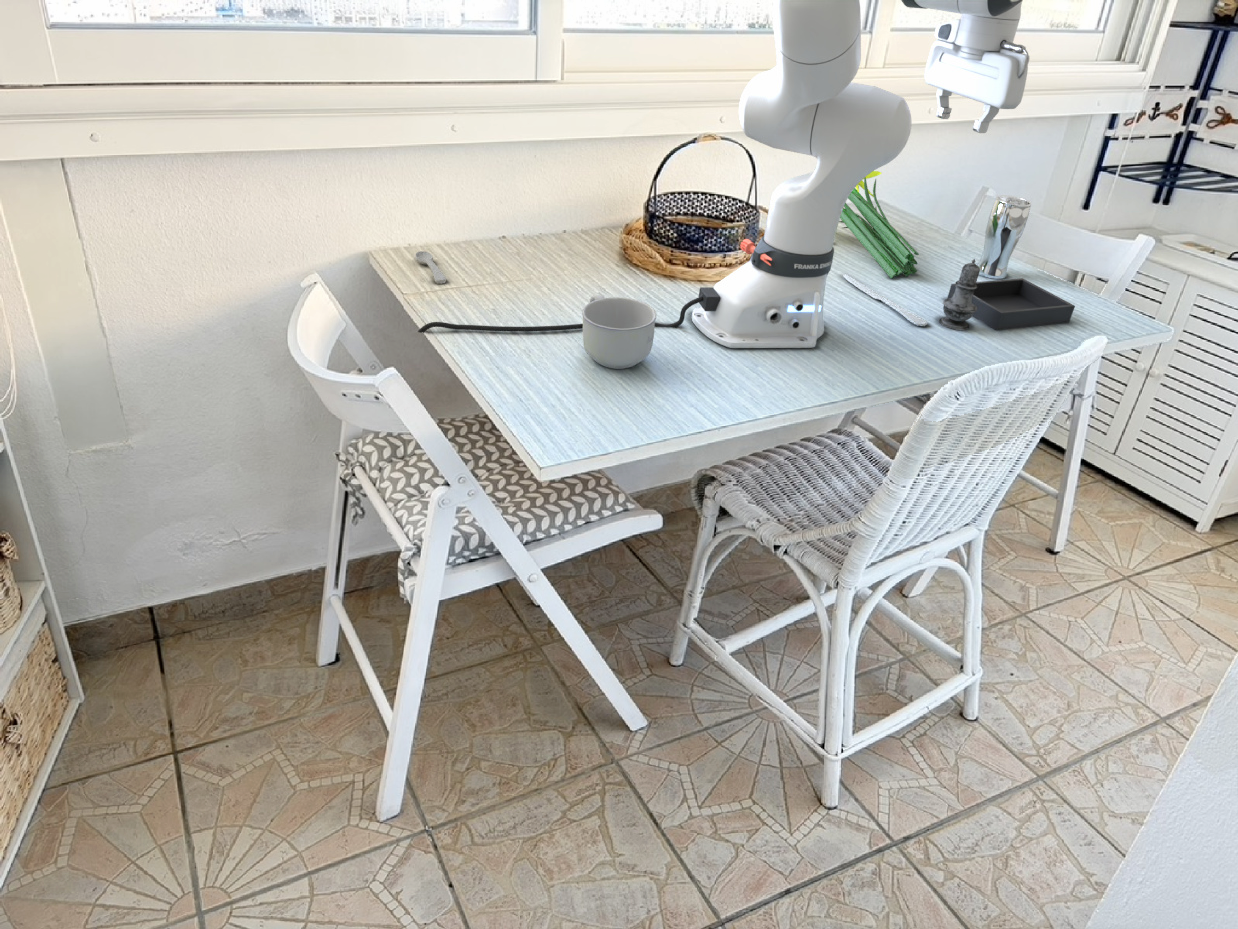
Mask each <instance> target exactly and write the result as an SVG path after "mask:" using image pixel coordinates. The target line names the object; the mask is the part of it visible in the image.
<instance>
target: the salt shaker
mask: <svg viewBox="0 0 1238 929" xmlns="http://www.w3.org/2000/svg"><path fill="white" fill-rule="evenodd" d="M976 261H977V260H976V259H975V258H973V259H972V260H971V262H969V263H965V264H964V265H963V266H962V269H961V272H960V275H959V278H958V280H956V281H955V284H956V285H957V286H956V289H955V293H954V295H953V297H952V298H950V299H947V298H946V299H944V300H942V304H943V305H942V306H943V307H942V308H943V314H944V317H941V318H939V319H938V322H939V324H940V325H941V326H943V327H945V328H946V329H950V330H955V331H968V330H969V329H970V327H971V326H970V324H969V323H968V322H967V321H968V320H970V319H971V318H972V317H973V314H974V312H976V311H977V307H976V306H975V305H974V304H972V296H973V293H974V289H976V288H977V285H976V282H978V279H979V272H980V268H979V267H978V266H977V265H978V264H976Z"/></svg>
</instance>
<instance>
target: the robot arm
mask: <svg viewBox="0 0 1238 929" xmlns="http://www.w3.org/2000/svg"><path fill="white" fill-rule="evenodd" d="M900 1H901V2H902V3H903V5H904V6H905V7H906V8H909V9H910V8H911V9H923V10H924V9H925V10H926V9H930V10H936V11H942V12H948V13H954V14H960V18H958V19H955V20H951V21H946V22H943V23H939V24H937V26H935V30H934V38H935V39H936V40H935V41H934V42H932V45H931V47H930V51H929V54H928V57H927V60H926V64H925V69H924V82H925V84H926V85H928V86H930V87H931V86H932V87H934V88H937V90H936V93H935V94H936V102H937V109H936V110H937V111H936V115H935V117H936V118H938V119H941V120H949V119H950V117H951V113H952V109H953V108H952V107H950V97H951V96H952V94H955V95H959V96H962V97H965V98H967V99H970V100H973V101H976V102H979V103H982V104H983V108H982V111H983V114H982V115H981V116H980V118H979V119H975V120H974V123H973V127H972V131H973V132H976V133H978V134H986V133H987V132H988V129H989V126H990V123H991V122H992V121H993V120H994V119H995V117H996V116H997V115H998V114H999V112H1000V110H1015V109H1017V107H1018V106H1020V104H1021V102H1022V100H1023V97H1024V92H1025V87H1026V82H1027V77H1028V70H1029V62H1030V55H1029V51H1028V50H1027V47H1026V46H1025V45H1022V44H1017V43H1014V40H1015V38H1016V34H1017V30H1018V26H1019V23H1020V20H1021V15H1022V5H1023V4H1022V3H1023V0H900ZM861 18H862V16H861V2H860V0H773V2H772V28H773V39H774V45H775V57H776V58H775V60H776V61H775V62H776V64H775V66H774V67H772V68H771V69H769V70H765V71H762V72H759V73H758V74H756V75H755V76H754V77H753V78H752V79H751V80H750V81H749V82H748V83H747V85H745V88H744V90H743V92H742V94H741V96H740V99H739V103H738V104H739V105H738V119H739V123H740V127H741V129H742V131H743V134H744V135H745V136H746V137H748V138H749V139H752V140H754V141H756V142H758V143H760V144H762V145H765V146H768V147H770V148H772V149H776V150H782V151H787V152H791V153H797V154H802V155H806V156H812V157H813V158H816V165H815V169H814V170H813V171H811V172H808V173H805V174H801V175H797V176H795V177H791V178H789V179H786V180H785V181H783V182H781V183H780V184H779V185H777V186H776V188H775V189H774V190H773V192H772V194H771V196H770V201H769V207H768V212H767V218H766V224H765V229H764V233H763V234H764V235H763V236H762V237H761V238H760V239H759V241H758V243H757V245H756V243H754V242H753V241H752V240H750V239H749V238H745V239H743V240H742V241H741V242H740V244H739V246H740V249H741V251H743V252H745V254H747V255H750V258H749V260H748V261H747V262H745V263H744V264H742V265H741V266H740V267H738V268H737V269H735V270H734V271H732V272H731V273H729V274H728V275H727V276H725V277H724V278H722V279H720V280H719V281H718V282H716V283H715V284H714V285H713V287H705V286H703V287H701V286H700V287H699V291H698V297H696V298H694V299H691V300H690V301H688V302H686V303H685V304H684V306H682V308H681V310H680V314H679V319H678V320H676V321H675V322H673V323H669V324H667V323H666V324H665V323H659V322H655V327H657V328H677V327H679V326H681V325H682V324H683V323H684V321H685V316H686V312H687V310H689V308H691V307H692V306H694V305H696V304H699V305H700V307H696V308H694V309H692V313H691V321H692V323H693V325H694V326H695V327H696V328H697V329H698V330H699V331H700V332H701V333H702V334H703V335H705V336H706V337H707V338H708V339H710V340H712V341H713V342H715V343H717V344H719V345H721V346H724V347H727V348H729V349H811V348H815V347H816V346H817V340H818V339H819V338H820V337H822V336H823V334H824V333H825V325H824V323H825V322H824V302H825V293H826V292H825V291H826V284H827V277H828V275H829V273H830V272H831V268H832V264H833V259H834V255H835V248H834V243H835V239H836V238H835V237H836V234H837V230H838V226H839V223H840V222H839V221H841V219H840V216H841V213H842V210H843V208H845V207H844V205H845V203H846V202H847V200H849V199H848V197H849V195H850V193H851V192H852V191H853V189H854V188H855V189H856V186H857V184H858V183H859V182H860V181H861V180H862V179H863V178H865V177H866V176H867V175H868V174H870V173H871V172H873V171H877V169H880V168H881V167H884V166H886V165H888V164H889V163H891V162H892V161H894V160H895V159H896V158H897V157H898V156H899V155H900V154H901V153H902V151H903V150H904V148H905V147H906V145H907V143H908V141H909V138H910V135H911V130H912V114H911V110H910V107H909V105H908V103H907V101H906V98H904V97H902V96H900V95H898V94H896V93H893V92H891V91H888V90H886V89H884V88H881V87H877V86H876V85H869V84H864V83H858V82H852V81H853V80H854V79H855V77H856V75H857V74H858V71H859V69H860V66H861V59H862V19H861ZM863 180H864V179H863ZM863 180H862V181H863ZM846 204H847V203H846ZM432 328H444V329H449V330H459V331H460V330H461V331H485V332H510V333H511V332H515V333H516V332H520V333H521V332H523V333H524V332H526V333H527V332H553V331H568V330H580V329H582V330H583V323H574V324H560V325H559V324H558V325H540V326H539V325H537V326H534V325H533V326H532V325H531V326H503V325H502V326H500V325H499V326H498V325H480V324H479V325H478V324H456V323H448V322H444V321H431V322H428V323H426V324H424V325H423V326H421V327H420V328H419V329H418V330H417V333H425V332H427V331H428V330H429V329H432Z"/></svg>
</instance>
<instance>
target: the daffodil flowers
mask: <svg viewBox="0 0 1238 929" xmlns="http://www.w3.org/2000/svg"><path fill="white" fill-rule="evenodd" d="M882 173H883V172H882V171H879V170H874V171H873V172H871V173H870V174H868V175H867V176H866V177H865V178H863V179H862V180H861V181H860V182H859V183H858V184H857V186H856V187H855V188H854V189H853V191H852V192H851V193H850V195H849V197H848V199H847V200H849V201H850V202H851V203H852V204H853V205H854V206H855V207H856V209H857V210H858V212H859V213H860V214H861V215H859V214H858V213H855V211H854V210H853V209H852V208H851V207H850V206H849V204H847V203H845V205H844V207H843V210H842V213H841V216H840V220H839V223H840V224H841V223H842V224H844V225H845V226H844V227H842V229H848V230H849V231H850V232H851V233H852V235H854V237H855V238H856V239H857V240H858V241H859V242H860V243H861V245H862V246H863V247H864V248H865V250H866V251H867V252H868V253H869V254H870V255H871V257H872V258H873V259H874V261H875V262H877V264H878V265H879V266H880V267H881V268H882V270H883V271H884V272H885V273H886V275H887V276H888V277H889V278H890V279H891V280H892V279H894V278H895V276H900V275H901V274H903V275H904V277H908V276H910V275H912V276H913V275H915V274H916V273H917V272H918V269H917V268H916V267H915V265H918V261H917V259H916V258H915V256H919V255H920V254H919V252H918V251H917V250H916V249H915V248H914V246H912V245H911V244H910V242H908V240H907V239H905V237H904V236H903V235H901V233H900V232H899V231H898V230H896V228H894V227H893V226H892V225H891V224H890V221H889V220H888V218H887V216H886V215H885V213H884V212H883V209H882V208H881V205H880V203H879V201H878V199H877V193H876V192H877V190H876V189H877V178H875V177H878V176H880V175H882ZM872 178H875V180H874V182H873V187H872V192H871V191H870V190H869V188H868V183H867V180H868V179H872ZM860 188H861V189H862V190H864V196H865V198H864V196H862V195H861V193H860ZM871 197H872V198H873V200H874V202H875V204H876V206H874V203H873V202H872V198H871ZM877 208H878V209H877ZM878 210H879V211H878ZM914 255H915V256H914Z"/></svg>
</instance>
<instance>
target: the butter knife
mask: <svg viewBox="0 0 1238 929" xmlns="http://www.w3.org/2000/svg"><path fill="white" fill-rule="evenodd" d="M842 277H843V278H844V279H845V280H846V281H847V282H849V283H850V284H852V285H853V286H854V287H855V288H857V289H859V290H860V291H862V292H864V293H865V294H866V295H868V296H870V297H871V298H873V299H875V300H879V301H881V302H882V303H884V304H885V305H887V306H889V307H890V308H891V309H893V310H895V311H896V312H897V313H899V315H901V316H903V317H904V318H905V319H906V320H907V321H909V322H910V323H911V324H913V325H915V326H917V327H925V326H927V325H928V324H929V323H928V321H927V320H926V319H923V317H920V316H918V315H916V314H914V313H913V312H910V311H909V310H907V309H906V308H903V307H902V306H900V305H898V304H897V303H895V302H893V301H892V300H891V299H889V298H886V297H884V296H882V294H879V293H878V292H876V291H874V290H873V289H872V288H870V287H869V286H867V285H865V284H864V283H862V282H860V281H858V280H857V279H856V278H854V277H852V276H851V275H849V274H847V273H844V274H842Z"/></svg>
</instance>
